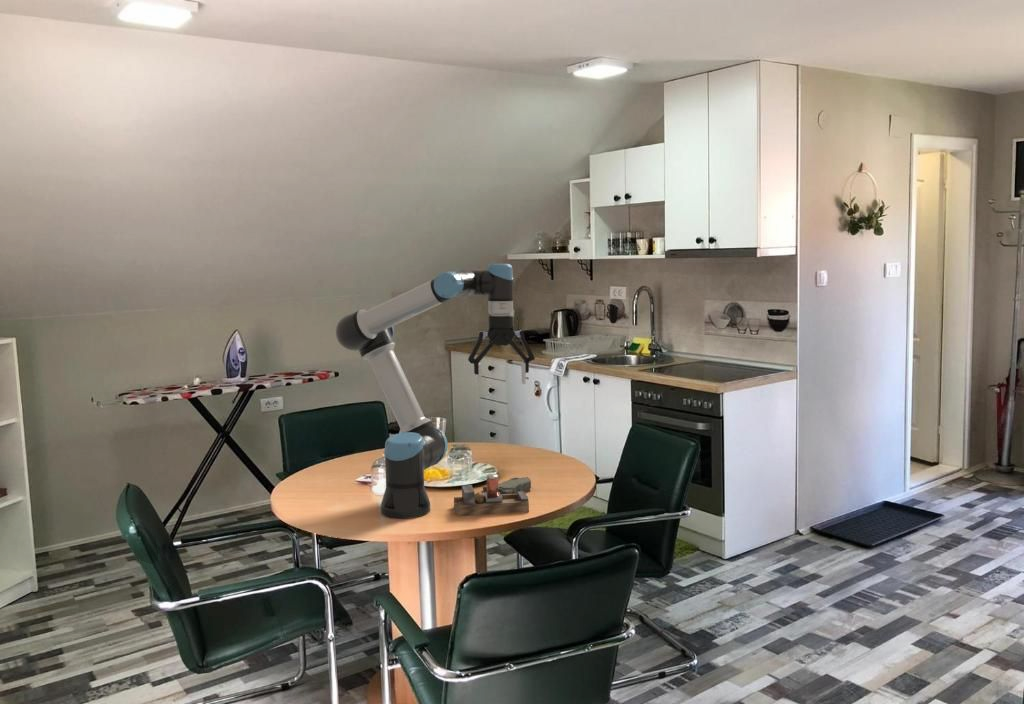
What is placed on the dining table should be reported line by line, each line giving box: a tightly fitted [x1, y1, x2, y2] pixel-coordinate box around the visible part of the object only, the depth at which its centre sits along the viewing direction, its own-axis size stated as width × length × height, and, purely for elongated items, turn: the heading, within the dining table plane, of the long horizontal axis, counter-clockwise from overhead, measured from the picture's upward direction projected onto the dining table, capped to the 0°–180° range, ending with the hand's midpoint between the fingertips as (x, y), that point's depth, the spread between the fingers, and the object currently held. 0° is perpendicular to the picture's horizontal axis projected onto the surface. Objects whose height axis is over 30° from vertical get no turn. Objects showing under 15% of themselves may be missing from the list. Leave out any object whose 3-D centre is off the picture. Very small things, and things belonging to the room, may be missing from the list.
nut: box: [475, 491, 485, 504], centre depth 258 cm, size 4×4×4 cm
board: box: [453, 484, 530, 517], centre depth 259 cm, size 22×10×7 cm, turn 99°
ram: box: [482, 473, 503, 503], centre depth 258 cm, size 5×7×8 cm
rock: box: [482, 476, 532, 495], centre depth 277 cm, size 12×16×5 cm
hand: (501, 384), depth 257 cm, fingers open, 13 cm apart
